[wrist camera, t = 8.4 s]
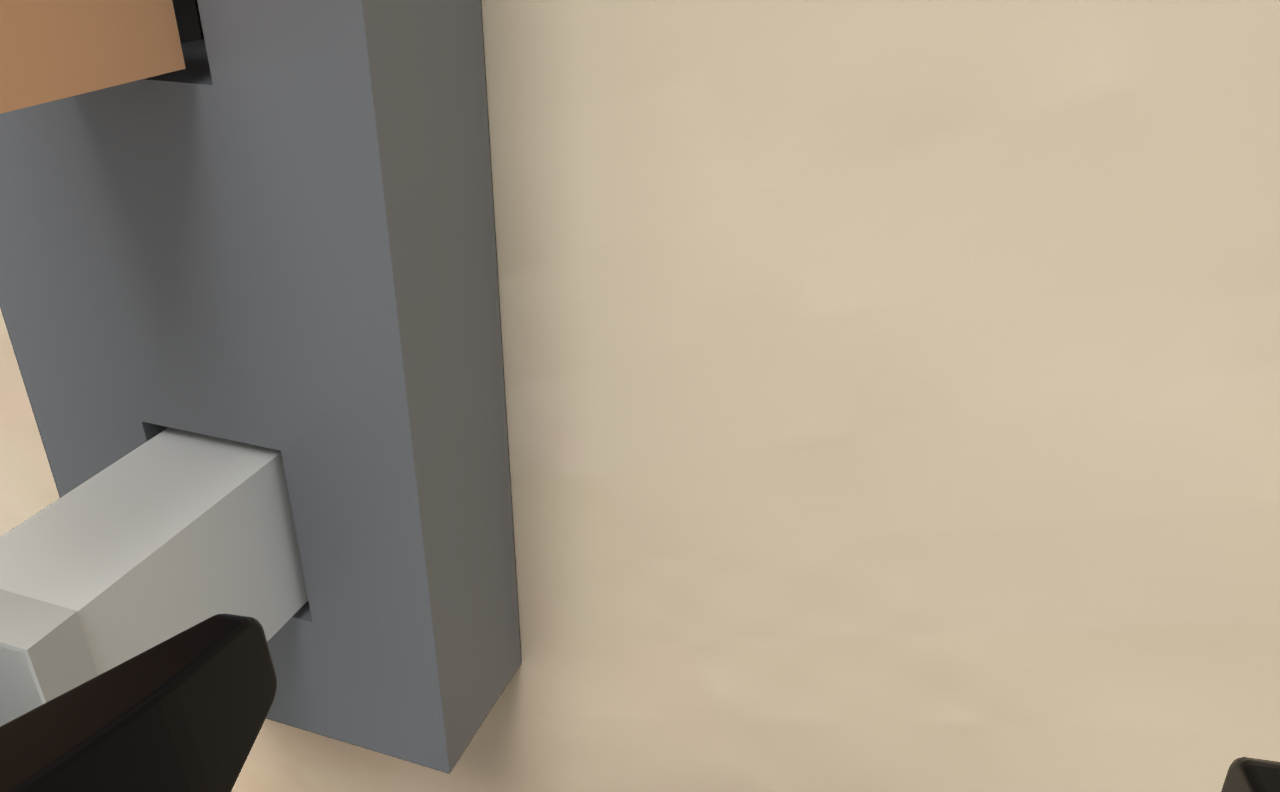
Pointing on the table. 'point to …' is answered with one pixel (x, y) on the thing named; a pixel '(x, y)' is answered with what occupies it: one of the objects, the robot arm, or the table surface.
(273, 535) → the grey plug
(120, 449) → the block
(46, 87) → the terracotta plug
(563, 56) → the table surface
